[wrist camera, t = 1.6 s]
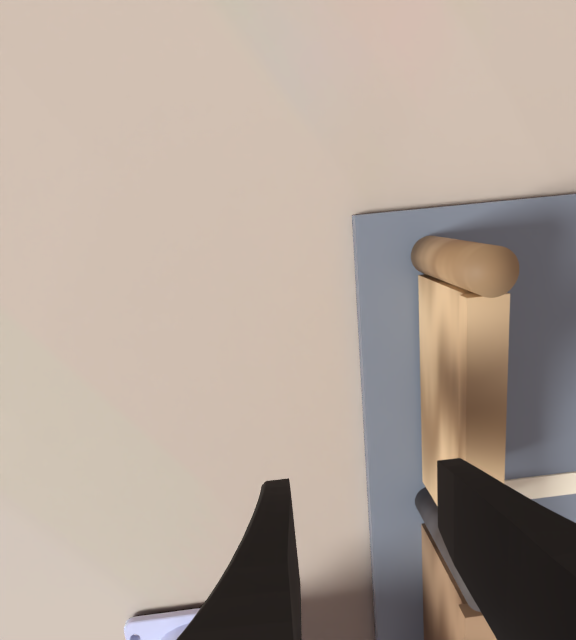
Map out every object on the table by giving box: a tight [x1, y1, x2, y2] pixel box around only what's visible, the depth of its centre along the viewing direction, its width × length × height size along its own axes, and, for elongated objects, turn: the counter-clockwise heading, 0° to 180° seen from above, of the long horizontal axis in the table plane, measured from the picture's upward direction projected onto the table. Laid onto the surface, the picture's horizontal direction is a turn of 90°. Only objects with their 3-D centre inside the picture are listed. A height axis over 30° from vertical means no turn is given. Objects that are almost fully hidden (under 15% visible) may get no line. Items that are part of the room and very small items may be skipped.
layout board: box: [352, 194, 576, 640], centre depth 23 cm, size 28×16×1 cm, turn 5°
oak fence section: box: [411, 236, 519, 506], centre depth 17 cm, size 12×2×5 cm, turn 5°
